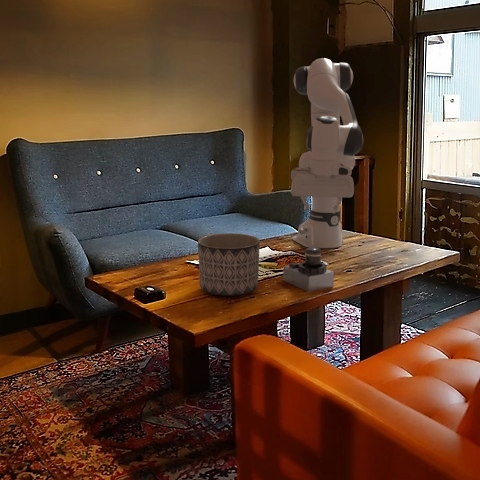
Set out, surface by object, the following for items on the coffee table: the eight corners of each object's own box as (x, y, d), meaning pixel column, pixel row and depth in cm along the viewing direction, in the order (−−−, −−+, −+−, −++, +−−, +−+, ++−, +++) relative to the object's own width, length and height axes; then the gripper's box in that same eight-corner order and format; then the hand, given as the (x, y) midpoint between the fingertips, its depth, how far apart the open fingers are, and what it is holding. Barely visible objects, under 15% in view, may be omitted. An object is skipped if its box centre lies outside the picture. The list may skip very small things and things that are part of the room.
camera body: (283, 280, 208) (283, 260, 206) (307, 275, 213) (307, 256, 211) (308, 291, 196) (309, 271, 195) (333, 286, 201) (334, 266, 200)
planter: (211, 304, 185) (211, 251, 181) (190, 285, 202) (189, 236, 198) (269, 295, 193) (270, 244, 189) (244, 278, 210) (244, 231, 206)
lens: (304, 272, 199) (304, 250, 198) (305, 268, 204) (305, 246, 202) (320, 273, 198) (320, 251, 197) (321, 268, 203) (321, 247, 202)
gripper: (292, 168, 196) (290, 211, 200) (356, 170, 196) (353, 212, 200) (290, 165, 202) (288, 206, 206) (353, 167, 203) (350, 208, 206)
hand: (320, 209), depth 203 cm, fingers open, 8 cm apart
